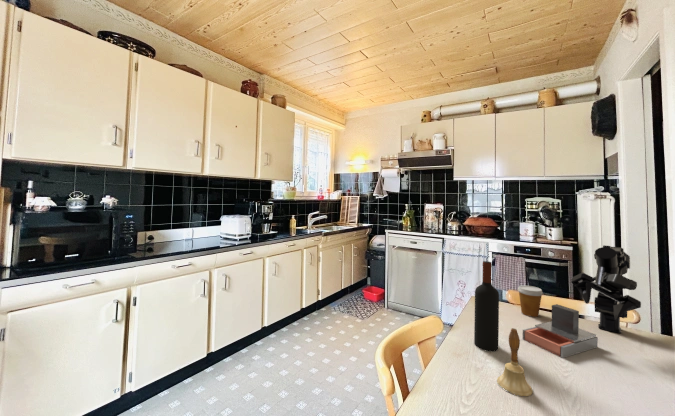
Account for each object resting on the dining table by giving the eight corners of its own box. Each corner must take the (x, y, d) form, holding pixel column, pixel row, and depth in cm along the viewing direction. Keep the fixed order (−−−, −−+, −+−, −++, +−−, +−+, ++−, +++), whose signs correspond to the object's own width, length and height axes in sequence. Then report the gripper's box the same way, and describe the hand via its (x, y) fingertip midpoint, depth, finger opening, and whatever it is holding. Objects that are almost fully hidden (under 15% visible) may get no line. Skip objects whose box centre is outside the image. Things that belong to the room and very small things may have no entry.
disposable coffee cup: (548, 318, 119) (548, 291, 119) (526, 318, 119) (526, 291, 119) (532, 310, 129) (533, 285, 129) (512, 309, 129) (513, 285, 129)
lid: (556, 321, 107) (556, 300, 107) (596, 336, 96) (596, 312, 96) (535, 326, 103) (535, 304, 103) (574, 342, 91) (574, 317, 91)
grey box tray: (555, 330, 108) (555, 321, 108) (597, 347, 95) (597, 337, 95) (522, 339, 101) (522, 329, 101) (562, 358, 89) (563, 347, 89)
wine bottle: (475, 348, 94) (476, 263, 94) (473, 338, 101) (474, 259, 101) (500, 353, 91) (501, 265, 91) (496, 342, 98) (497, 260, 98)
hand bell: (519, 400, 69) (520, 339, 69) (490, 381, 77) (490, 325, 77) (539, 391, 73) (540, 333, 72) (509, 373, 80) (510, 320, 80)
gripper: (595, 254, 99) (589, 288, 91) (657, 283, 93) (655, 322, 85) (573, 265, 108) (566, 297, 101) (628, 293, 102) (624, 329, 94)
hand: (601, 310), depth 95 cm, fingers open, 9 cm apart
